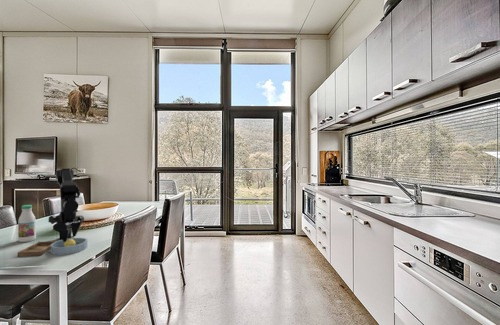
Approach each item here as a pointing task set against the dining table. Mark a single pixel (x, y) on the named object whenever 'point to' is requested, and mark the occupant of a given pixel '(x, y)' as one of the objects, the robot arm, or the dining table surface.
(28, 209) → the milk bottle
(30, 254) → the tray
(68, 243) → the ball
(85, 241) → the bowl
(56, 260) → the dining table surface
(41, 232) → the dining table surface
